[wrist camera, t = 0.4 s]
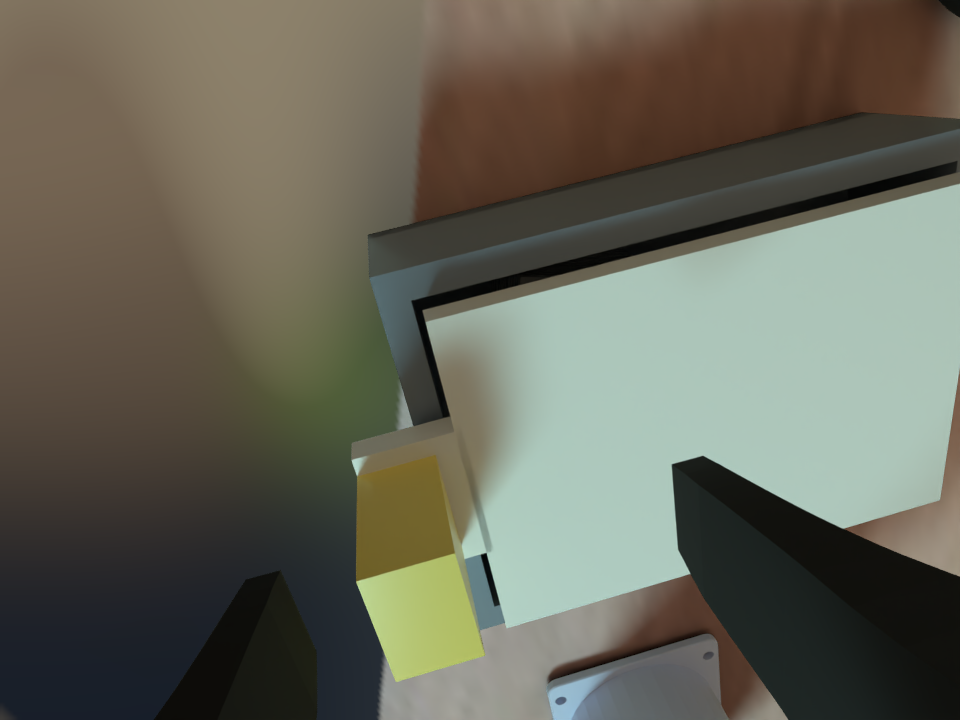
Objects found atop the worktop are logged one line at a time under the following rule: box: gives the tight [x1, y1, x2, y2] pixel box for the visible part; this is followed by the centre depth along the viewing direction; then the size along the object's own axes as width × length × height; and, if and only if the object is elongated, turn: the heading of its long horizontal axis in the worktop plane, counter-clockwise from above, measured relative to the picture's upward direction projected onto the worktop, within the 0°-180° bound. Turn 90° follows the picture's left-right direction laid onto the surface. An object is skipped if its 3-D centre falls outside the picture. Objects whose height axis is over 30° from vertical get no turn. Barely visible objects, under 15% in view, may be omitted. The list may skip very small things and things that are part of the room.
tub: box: [368, 113, 960, 630], centre depth 20 cm, size 12×16×4 cm
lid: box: [352, 172, 960, 682], centre depth 15 cm, size 10×17×4 cm, turn 102°
